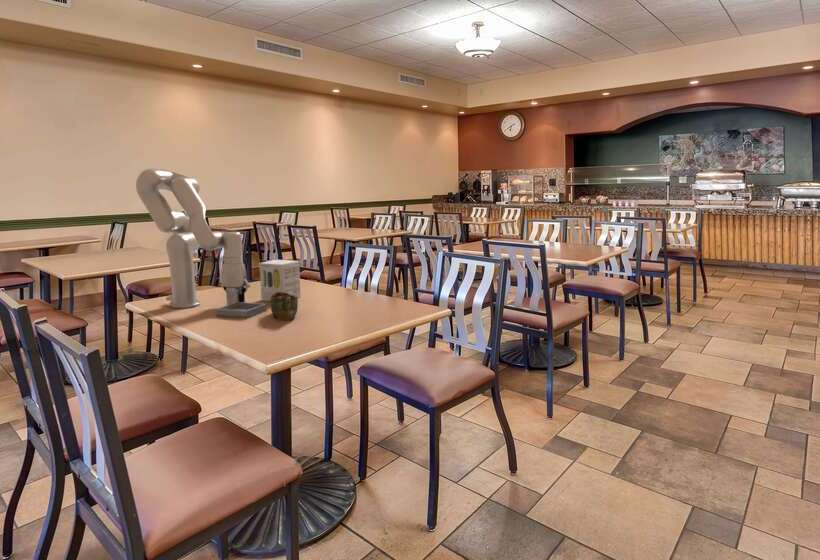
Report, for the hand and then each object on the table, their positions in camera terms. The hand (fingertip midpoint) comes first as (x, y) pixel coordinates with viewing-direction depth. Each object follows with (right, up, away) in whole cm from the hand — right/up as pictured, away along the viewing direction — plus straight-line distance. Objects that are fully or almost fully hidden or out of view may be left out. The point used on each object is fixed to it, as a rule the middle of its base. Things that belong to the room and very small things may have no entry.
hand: (236, 301), depth 228 cm
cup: (+26, -6, -19) cm, 32 cm away
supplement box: (+16, 0, +15) cm, 22 cm away
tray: (+7, -4, -14) cm, 16 cm away
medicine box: (0, -2, 0) cm, 2 cm away
